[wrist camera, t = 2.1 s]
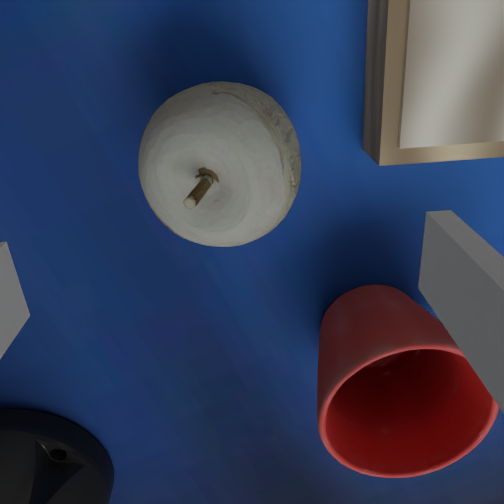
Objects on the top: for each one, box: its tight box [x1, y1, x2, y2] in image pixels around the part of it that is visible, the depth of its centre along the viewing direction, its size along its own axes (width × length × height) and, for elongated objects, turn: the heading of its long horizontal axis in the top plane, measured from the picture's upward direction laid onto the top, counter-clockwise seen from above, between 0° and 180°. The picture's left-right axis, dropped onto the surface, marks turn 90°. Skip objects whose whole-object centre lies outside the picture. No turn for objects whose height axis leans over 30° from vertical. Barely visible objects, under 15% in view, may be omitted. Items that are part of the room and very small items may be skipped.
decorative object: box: [138, 81, 301, 247], centre depth 26 cm, size 9×9×10 cm
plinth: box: [362, 0, 504, 166], centre depth 26 cm, size 14×14×4 cm
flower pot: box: [317, 284, 499, 478], centre depth 33 cm, size 11×11×10 cm
